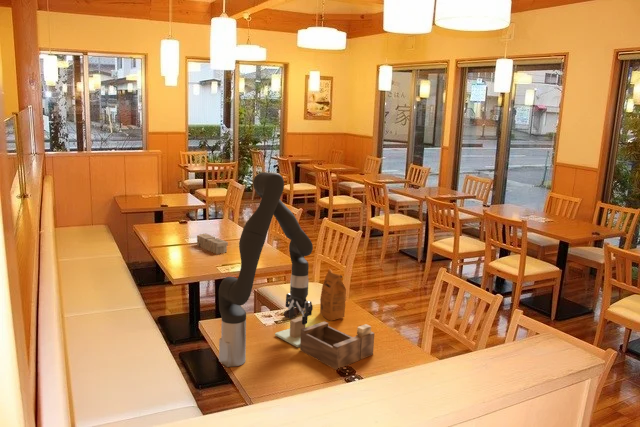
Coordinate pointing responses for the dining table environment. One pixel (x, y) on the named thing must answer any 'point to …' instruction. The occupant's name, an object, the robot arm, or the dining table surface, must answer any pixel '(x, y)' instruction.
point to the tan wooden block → (363, 330)
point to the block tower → (212, 243)
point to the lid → (292, 332)
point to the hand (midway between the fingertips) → (297, 321)
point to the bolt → (296, 311)
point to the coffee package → (333, 297)
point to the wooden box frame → (335, 345)
